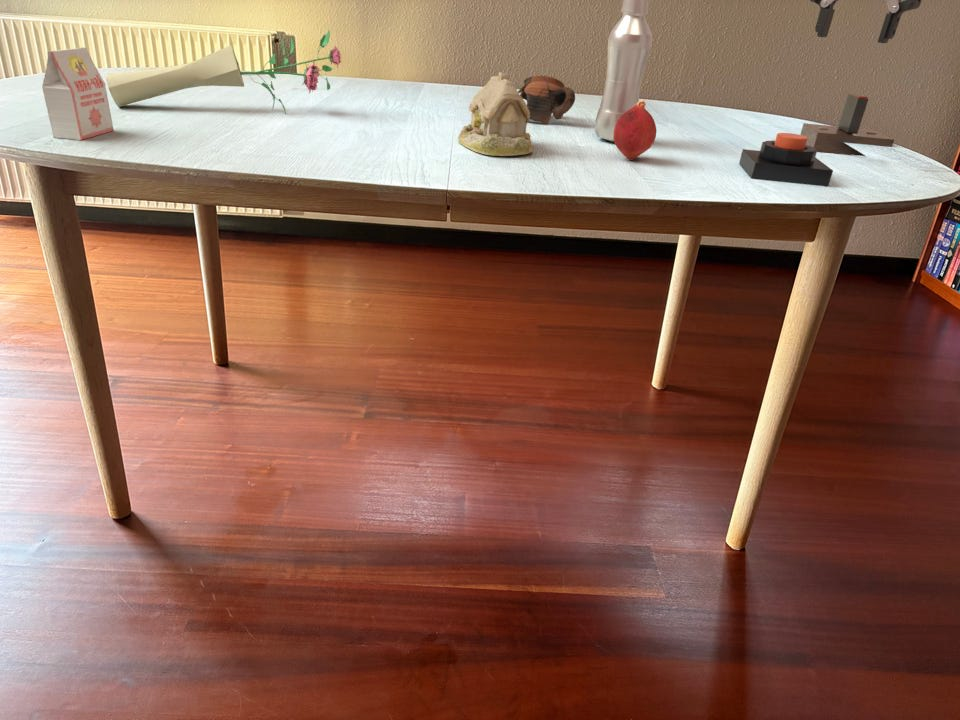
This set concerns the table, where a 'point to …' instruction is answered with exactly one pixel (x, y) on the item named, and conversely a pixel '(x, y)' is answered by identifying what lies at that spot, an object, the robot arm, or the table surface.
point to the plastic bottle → (624, 66)
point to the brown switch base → (842, 139)
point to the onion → (635, 131)
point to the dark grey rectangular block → (853, 113)
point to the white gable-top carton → (75, 95)
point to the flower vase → (206, 75)
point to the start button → (791, 141)
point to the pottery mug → (546, 98)
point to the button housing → (785, 165)
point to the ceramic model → (498, 120)
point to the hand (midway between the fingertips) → (851, 39)
